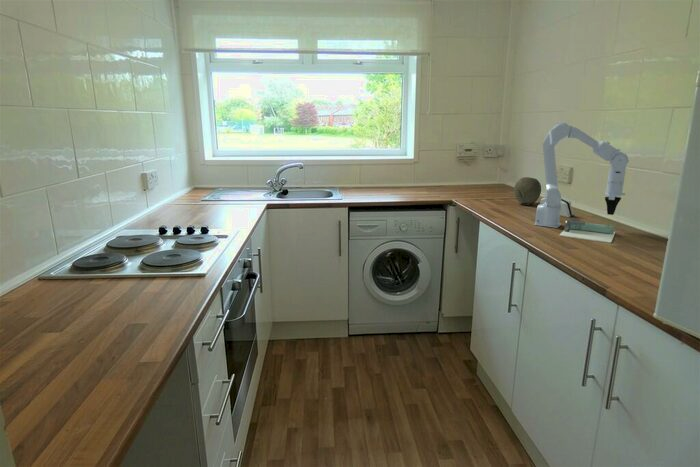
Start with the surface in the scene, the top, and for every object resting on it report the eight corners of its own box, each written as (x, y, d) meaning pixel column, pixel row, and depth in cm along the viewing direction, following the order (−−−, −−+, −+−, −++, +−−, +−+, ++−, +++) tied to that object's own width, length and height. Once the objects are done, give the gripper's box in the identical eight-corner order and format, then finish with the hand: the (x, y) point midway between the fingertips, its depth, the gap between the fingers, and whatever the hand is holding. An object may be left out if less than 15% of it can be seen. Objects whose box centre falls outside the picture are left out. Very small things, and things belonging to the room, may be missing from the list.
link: (565, 228, 180) (566, 222, 179) (568, 225, 184) (568, 220, 183) (613, 234, 170) (614, 228, 170) (614, 231, 174) (615, 225, 174)
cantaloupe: (544, 206, 229) (547, 179, 225) (517, 206, 229) (520, 179, 225) (533, 202, 242) (536, 175, 238) (508, 201, 242) (511, 175, 239)
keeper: (564, 231, 176) (565, 221, 175) (563, 230, 178) (565, 220, 177) (583, 233, 173) (585, 222, 172) (583, 232, 175) (585, 221, 174)
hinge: (575, 216, 206) (573, 197, 202) (569, 220, 205) (566, 201, 201) (547, 209, 221) (544, 192, 217) (540, 213, 219) (537, 196, 215)
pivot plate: (559, 235, 171) (560, 224, 170) (567, 227, 185) (568, 216, 184) (610, 243, 161) (612, 231, 160) (615, 233, 175) (617, 222, 174)
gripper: (625, 184, 166) (620, 218, 170) (628, 180, 178) (623, 212, 181) (605, 183, 170) (600, 216, 174) (608, 179, 182) (604, 210, 185)
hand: (610, 214), depth 178 cm, fingers closed
